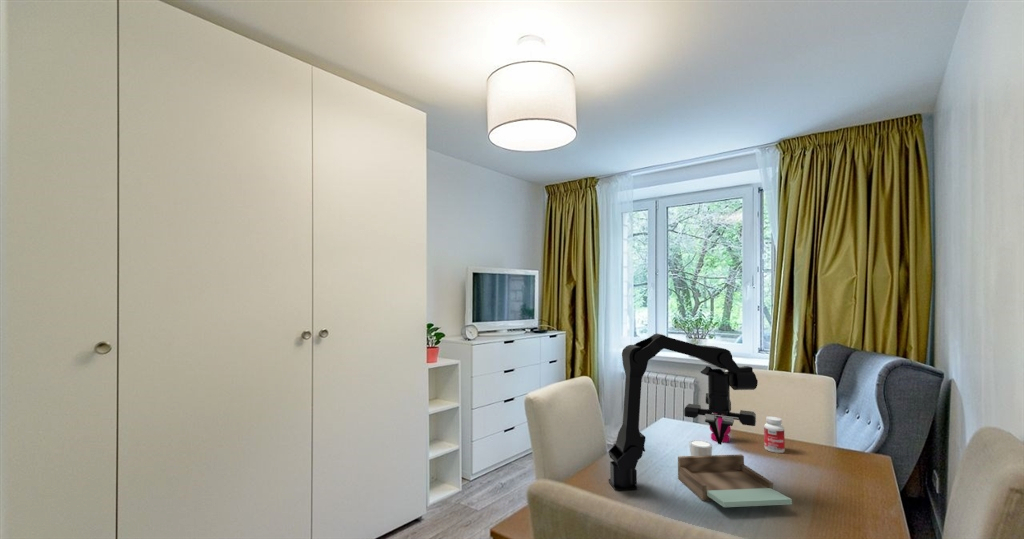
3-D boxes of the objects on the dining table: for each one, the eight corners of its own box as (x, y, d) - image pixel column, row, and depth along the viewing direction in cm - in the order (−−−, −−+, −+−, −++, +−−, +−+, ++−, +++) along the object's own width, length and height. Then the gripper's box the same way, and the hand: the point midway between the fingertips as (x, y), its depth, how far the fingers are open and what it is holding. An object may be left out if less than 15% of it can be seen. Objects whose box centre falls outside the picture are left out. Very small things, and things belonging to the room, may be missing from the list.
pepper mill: (734, 443, 163) (733, 388, 164) (714, 443, 163) (713, 388, 164) (725, 436, 170) (724, 384, 171) (706, 436, 170) (705, 383, 171)
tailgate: (706, 495, 117) (723, 507, 110) (706, 490, 118) (723, 502, 110) (770, 492, 119) (792, 504, 111) (770, 488, 119) (791, 499, 111)
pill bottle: (766, 452, 154) (765, 419, 154) (762, 446, 160) (762, 415, 160) (786, 454, 152) (786, 421, 152) (782, 448, 157) (781, 416, 158)
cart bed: (702, 501, 118) (702, 476, 118) (678, 478, 132) (677, 456, 132) (773, 498, 120) (772, 473, 120) (741, 476, 133) (741, 454, 134)
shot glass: (715, 470, 138) (714, 447, 138) (691, 469, 139) (691, 446, 139) (709, 462, 144) (709, 440, 145) (687, 460, 146) (687, 439, 146)
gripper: (756, 388, 133) (757, 441, 132) (689, 382, 142) (690, 431, 141) (754, 396, 123) (755, 453, 122) (683, 388, 133) (684, 441, 132)
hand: (719, 444), depth 130 cm, fingers closed
